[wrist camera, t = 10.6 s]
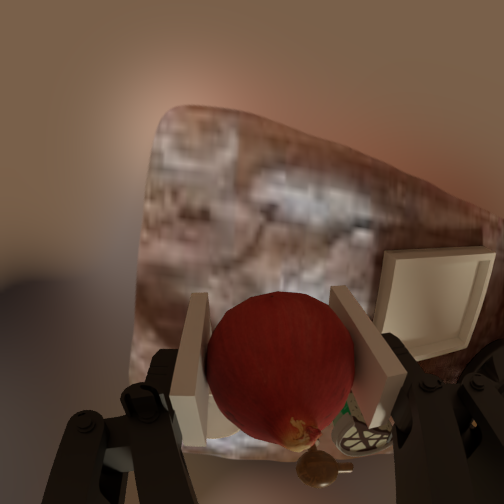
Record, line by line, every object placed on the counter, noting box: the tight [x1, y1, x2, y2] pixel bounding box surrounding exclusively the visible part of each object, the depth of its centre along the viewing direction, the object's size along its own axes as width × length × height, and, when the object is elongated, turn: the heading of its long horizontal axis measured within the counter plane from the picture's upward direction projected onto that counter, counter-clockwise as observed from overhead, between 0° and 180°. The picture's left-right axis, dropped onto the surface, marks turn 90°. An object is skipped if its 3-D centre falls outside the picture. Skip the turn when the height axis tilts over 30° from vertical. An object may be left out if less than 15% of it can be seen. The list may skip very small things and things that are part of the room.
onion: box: [206, 291, 355, 452], centre depth 11 cm, size 6×6×8 cm
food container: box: [331, 390, 393, 456], centre depth 37 cm, size 12×6×10 cm, turn 52°
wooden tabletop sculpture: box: [296, 439, 353, 488], centre depth 28 cm, size 6×5×20 cm
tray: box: [373, 246, 496, 361], centre depth 36 cm, size 18×16×3 cm
